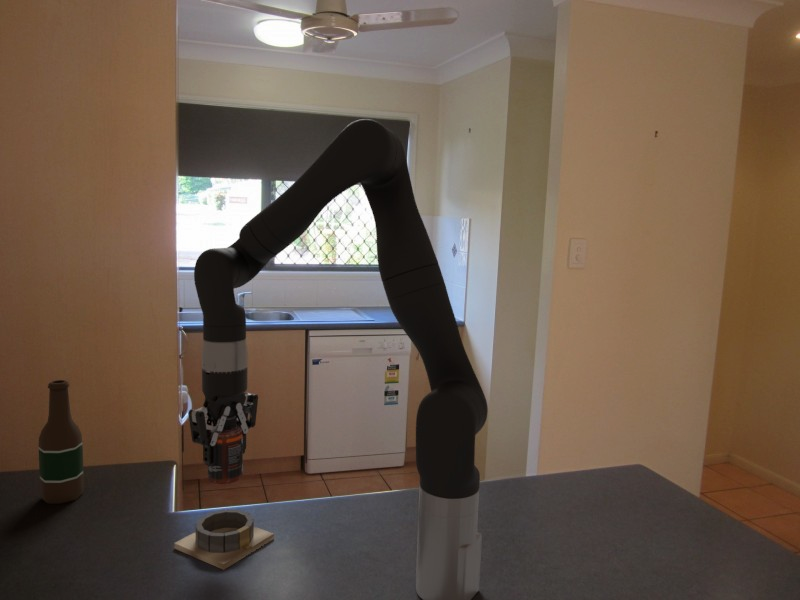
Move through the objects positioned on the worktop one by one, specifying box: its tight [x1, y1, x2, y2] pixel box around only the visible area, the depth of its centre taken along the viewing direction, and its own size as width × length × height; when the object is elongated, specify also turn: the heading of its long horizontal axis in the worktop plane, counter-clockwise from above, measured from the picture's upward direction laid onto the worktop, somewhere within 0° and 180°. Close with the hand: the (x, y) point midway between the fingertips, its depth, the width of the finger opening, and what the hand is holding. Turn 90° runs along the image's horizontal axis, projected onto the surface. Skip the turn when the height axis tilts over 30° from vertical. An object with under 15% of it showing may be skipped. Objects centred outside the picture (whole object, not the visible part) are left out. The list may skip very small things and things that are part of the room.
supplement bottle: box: [207, 415, 244, 485], centre depth 106 cm, size 6×6×11 cm
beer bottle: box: [38, 379, 85, 505], centre depth 123 cm, size 8×8×24 cm
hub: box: [173, 509, 275, 571], centre depth 108 cm, size 12×12×4 cm
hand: (225, 458), depth 107 cm, fingers closed on supplement bottle, 6 cm apart
